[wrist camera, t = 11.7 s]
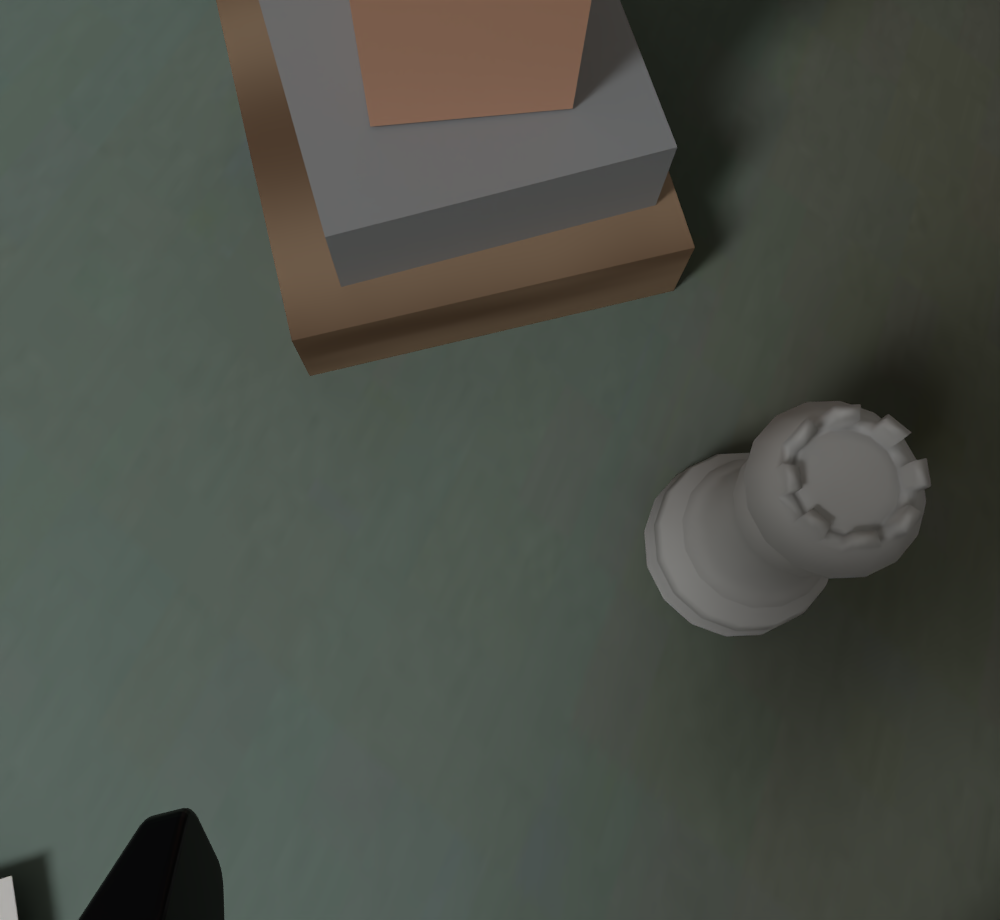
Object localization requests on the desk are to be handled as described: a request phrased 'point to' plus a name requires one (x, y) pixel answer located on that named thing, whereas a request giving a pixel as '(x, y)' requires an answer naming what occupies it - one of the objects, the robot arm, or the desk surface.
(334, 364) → the tower base
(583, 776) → the desk surface
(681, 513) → the rook chess piece
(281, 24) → the tower top
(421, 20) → the pillar
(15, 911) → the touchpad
